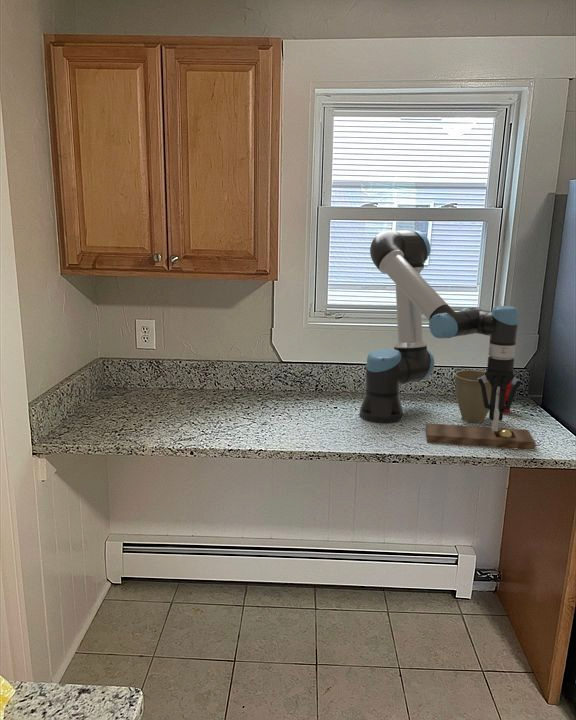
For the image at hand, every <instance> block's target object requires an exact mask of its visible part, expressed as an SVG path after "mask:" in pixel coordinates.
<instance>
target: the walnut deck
mask: <svg viewBox="0 0 576 720" xmlns="http://www.w3.org/2000/svg"><path fill="white" fill-rule="evenodd" d="M491 427H492V426H478V425H477V426H474V425H459V424H446V423H431V422H427V423H425V437H426V443H427V444H428V443H430V444H441V445H442V444H443V445H444V444H445V445H458V446H469V447H470V446H471V447H472V446H473V447H485V448H496V449H497V448H498V449H499V448H500V449H511V448H518V449H517V450H524V449H536V441H535V439H534V438H533V436H532V434H531V432H530V431H529V430H528V429H519V428H503V427H498V431H492V428H491ZM504 429H506V430H509V431H510V432H511V433H512V438H504V437H499V433H500V431H501V430H504Z"/></svg>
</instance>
